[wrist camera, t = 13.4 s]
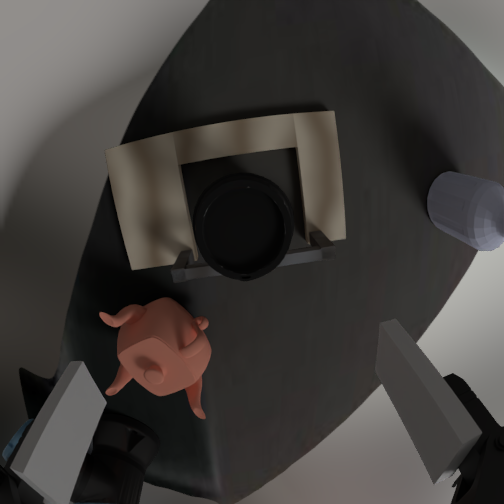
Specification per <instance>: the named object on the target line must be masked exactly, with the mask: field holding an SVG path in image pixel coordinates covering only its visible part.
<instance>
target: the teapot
mask: <svg viewBox="0 0 504 504" xmlns="http://www.w3.org/2000/svg"><path fill="white" fill-rule="evenodd" d="M99 315H100V317H101V319H102V320H103V321H104V322H105V323H106V324H108V325H109V326H112V327H118V326H121V328H120V331H119V335H118V341H117V355H118V358H119V360H120V362H121V364H120V367H119V370H118V373H117V376H116V378H115V380H114V382H113V383H112V385H111V386H110V387H109V388H108V389H107V390H106V394H107V395H114V394H116V393H117V392H118V391H119V390H121V389H122V388H123V387H124V386H125V385H126V384H127V383H128V382H129V381H130V380H131V379H132V378H134V379H135V380H136V381H137V382H138V383H140V384H141V385H142V386H143V387H144V388H146V389H147V390H148V391H150V392H151V393H153V394H155V395H158V396H164V395H168V394H171V393H174V392H177V391H179V390H181V389H184V388H185V389H186V392H187V395H188V400H189V403H190V406H191V408H192V410H193V412H194V413H195V414H196V415H197V416H198V417H199V418H201V419H205V414H204V412H203V410H202V408H201V404H200V395H201V389H202V377H201V375H202V374H203V372H204V371H205V369H206V367H207V365H208V362H209V360H210V356H211V347H210V343H209V341H208V339H207V337H206V335H205V333H204V332H203V329H205V328H206V327H207V326H208V324H209V323H208V320H207V318H206V317H204V316H200V317H197V318H195V319H194V318H193V316H192V315H191V314H190V313H189V312H188V311H187V310H186V309H185V308H183V307H182V306H181V305H180V304H179V303H178V302H176V301H175V300H173V299H171V298H168V297H164V298H160V299H158V300H155V301H153V302H151V303H149V304H147V305H145V306H141V305H136V304H134V305H129V306H127V307H125V308H123V309H122V310H121V311H120V312H119V313H118V314H116V315H114V316H112V315H109V314H107V313H104V312H100V313H99Z"/></svg>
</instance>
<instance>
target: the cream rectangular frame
mask: <svg viewBox="0 0 504 504" xmlns="http://www.w3.org/2000/svg"><path fill="white" fill-rule="evenodd" d="M291 147H295V148H296V156H297V163H298V172H299V180H300V189H301V198H302V207H303V217H304V227H305V238H306V242H307V243H308V244H311V246H312V247H306V248H299V249H292V250H288V251H287V253H286V255H285V257H284V259H283V260H282V262H281V263H280V264H279V265H278V266H277V267H279V266H285V265H292V264H298V263H305V262H311V261H318V260H322V261H326V260H332V259H335V245H334V244H333V243H332V242H331V241H333V240H340V239H346V230H345V212H344V198H343V185H342V174H341V164H340V154H339V145H338V137H337V129H336V122H335V114H334V111H322V112H307V113H294V114H284V115H274V116H265V117H257V118H250V119H242V120H236V121H229V122H223V123H217V124H211V125H206V126H200V127H195V128H190V129H185V130H180V131H176V132H171V133H167V134H162V135H158V136H154V137H150V138H146V139H142V140H138V141H134V142H131V143H127V144H123V145H120V146H116V147H113V148H110V149H106V150H105V156H106V161H107V167H108V172H109V178H110V183H111V188H112V192H113V197H114V202H115V206H116V210H117V215H118V219H119V223H120V227H121V231H122V235H123V239H124V243H125V247H126V250H127V254H128V257H129V261H130V264H131V268H132V270H137V269H144V268H150V267H157V266H164V265H171V264H174V265H173V267H172V268H171V273H172V277H173V281H174V283H176V282H183V281H187V280H188V279H196V278H203V277H210V276H217V275H222V274H220V273H218V272H216V271H215V270H214V269H212V268H211V267H210V266H209V265H208V264H207V262H204V263H197V264H194V262H195V261H197V259H198V252H197V247H196V243H195V238H194V233H193V228H192V223H191V218H190V213H189V208H188V203H187V198H186V192H185V187H184V181H183V176H182V170H181V164H186V163H191V162H196V161H202V160H207V159H213V158H219V157H225V156H231V155H238V154H244V153H251V152H258V151H266V150H274V149H282V148H291Z"/></svg>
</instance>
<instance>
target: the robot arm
mask: <svg viewBox="0 0 504 504" xmlns="http://www.w3.org/2000/svg"><path fill="white" fill-rule="evenodd" d="M375 372H376V374H377V375H378V377H379V379H380V381H381V383H382V384H383V386H384V388H385V390H386V392H387V394H388V395H389V397H390V399H391V401H392V403H393V405H394V407H395V408H396V410H397V412H398V414H399V416H400V418H401V420H402V422H403V424H404V426H405V427H406V429H407V431H408V433H409V435H410V437H411V439H412V441H413V443H414V445H415V447H416V449H417V451H418V453H419V455H420V457H421V459H422V461H423V463H424V465H425V467H426V469H427V471H428V473H429V475H430V477H431V480H432V482H433V484H434V485H435V484H437V483H439V482H441V481H443V480H445V479H447V478H449V477H451V476H452V475H453V474H454V473H455V471H456V470H457V469H459V470H460V472H461V475H460V476H459V477H458V478H457V480H456V481H455V482H454V484H453V486H452V487H455V486H456V485H457V487H456V490H455V493H454V496H453V499H452V502H451V504H504V427H501V426H500V425H499V424H498V423H497V422H496V421H495V419H494V418H493V417H492V415H491V414H490V413H489V411H488V410H487V409H486V407H485V406H484V405H483V403H482V402H481V401H480V400H479V399H478V398H477V397H476V394H475V393H474V392H473V391H471V388H470V387H469V386H468V384H467V383H466V382H465V381H464V380H463V379H462V378H460V377H458V376H457V375H455V374H453V373H452V374H450V375H447V376H445V377H442V376H441V375H440V373H439V372H438V371H437V369H436V368H435V367H434V366H433V364H432V363H431V362H430V360H429V359H428V358H427V357H426V355H425V354H424V353H423V352H422V350H421V349H420V348H419V347H418V345H417V344H416V343H415V342H414V340H413V339H412V338H411V337H410V335H409V334H408V333H407V332H406V331H405V329H404V328H403V327H402V326H401V325H400V323H399V322H398V321H397V320H396V319H393V320H389V321H385V322H382V323H380V328H379V339H378V349H377V358H376V366H375ZM106 403H107V402H106V401H105V399H104V397H103V396H102V394H101V393H100V391H99V389H98V387H97V386H96V384H95V382H94V380H93V379H92V377H91V375H90V373H89V372H88V370H87V368H86V366H85V364H84V362H83V361H71V362H70V363H69V365H68V366H67V368H66V370H65V371H64V373H63V374H62V376H61V377H60V379H59V381H58V382H57V384H56V385H55V387H54V389H53V390H52V392H51V394H50V395H49V397H48V399H47V400H46V402H45V404H44V405H43V407H42V409H41V410H40V412H39V414H38V416H37V417H36V419H30V420H28V421H27V422H25V423H24V424H23V426H22V427H21V428H20V429H19V430H18V431H17V432H16V434H15V435H14V436H13V438H12V439H11V441H10V442H9V444H8V445H7V446H6V448H5V449H4V451H3V454H2V455H3V457H4V459H5V460H6V461H8V462H7V464H6V466H5V467H4V468H3V467H2V466H1V465H0V504H69V501H72V502H73V503H74V504H139V502H140V496H141V491H142V486H143V481H144V476H145V472H146V469H147V468H148V466H149V465H150V464H151V462H152V461H153V459H154V458H155V456H156V455H157V453H158V451H159V446H160V440H159V438H158V436H157V435H156V434H155V433H154V432H153V431H152V430H151V429H150V428H149V427H147V426H146V425H144V424H142V423H141V422H139V421H137V420H134V419H132V418H129V417H126V416H123V415H119V414H102V413H103V410H104V408H105V405H106ZM92 437H93V451H92V453H91V455H90V454H88V453H87V450H88V448H89V445H90V442H91V440H92Z"/></svg>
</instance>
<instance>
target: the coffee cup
mask: <svg viewBox="0 0 504 504" xmlns="http://www.w3.org/2000/svg"><path fill="white" fill-rule="evenodd" d="M293 230H294V216H293V211H292V207H291V204H290V202H289V200H288V198H287V196H286V195H285V193H284V192H283V191H282V190H281V189H280V188H279V187H278V186H277V185H276V184H275V183H273V182H272V181H271V180H269V179H266V178H264V177H262V176H259V175H256V174H252V173H237V174H231V175H228V176H225V177H222V178H220V179H218V180H217V181H215V182H213V183H212V184H211V185H210V186H209V187H208V188H206V189H205V191H204V192H203V193H202V195H201V196H200V197H199V199H198V202H197V204H196V206H195V209H194V214H193V233H194V238H195V240H196V243H197V245H198V247H199V250H200V253H201V254H202V256H203V258H204V260H205V261H206V262H207V264H208V265H209V266H210V267H211V268H212V269H214V270H215V271H216V272H218V273H220V274H222V275H223V276H226V277H229V278H232V279H236V280H240V281H250V280H253V279H256V278H259V277H261V276H264V275H266V274H268V273H269V272H271V271H273V270H274V269H275V268H276V267H277V266H278V265H279V264H280V263H281V262H282V260H283V259H284V257H285V255H286V253H287V251H288V249H289V245H290V242H291V239H292V236H293Z"/></svg>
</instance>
